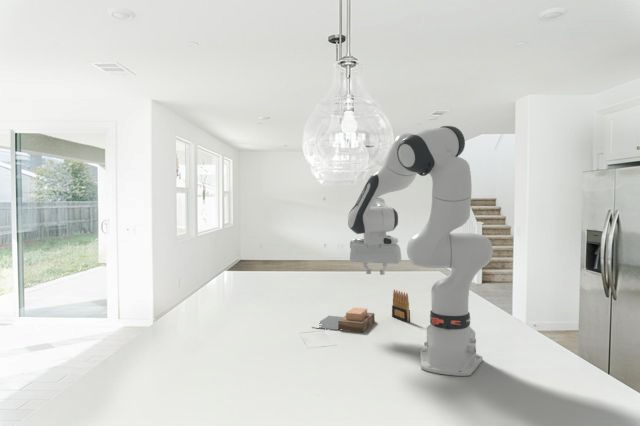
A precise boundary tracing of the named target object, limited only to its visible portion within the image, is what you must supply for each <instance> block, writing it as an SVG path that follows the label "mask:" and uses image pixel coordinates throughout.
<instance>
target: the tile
mask: <svg viewBox="0 0 640 426" xmlns="http://www.w3.org/2000/svg"><path fill="white" fill-rule="evenodd" d="M367 313H368V308H363V307H352V308H351V309H349V310H347V311H346V312H345V316H346V319H351V320H362V319H363V318H364V317H365V316H367Z"/></svg>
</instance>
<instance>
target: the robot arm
mask: <svg viewBox="0 0 640 426" xmlns="http://www.w3.org/2000/svg"><path fill="white" fill-rule="evenodd" d="M465 146H466V139H465V136H464V134H463V132H462V131H461V130H460V129H459V128H458V127H456V126H453V125H451V126H450V125H443V126H440V127H436V128H429V129H425V130H422V131H418V132H417V133H414V134H413V133H409V132H408V133H407V132H405V133H401V134H399V135H398V136H397V137H396V138H395V139H394V141H393V143H392V144H391V146H390V148H389V150H388V152H387V156H386V158H385V161H384V164H383V165H382V166H381V168H379V170H377V171H376V172H375V173H373V174H372V175H371V176H370V177H369V178H368V180H367V182H366V184H365V185H364V187H363V189H362V191H361V193H360V195H359V197H358V199H357V200H356V202H355V204H354V206H352V208H351V209H350V211H349V213H348V216H347V226H348V228H349V229H350V230H351V231H352V232H354V233H355V234H357V235H359V234H360V235H361V234H363V238H354V239H352V240H350V242H349V248H350V252H349V260H350V261H351V263H362V265H363V267H364V268H365V272H366V274H367V275H371V274H372V269H371V268H369V266H368V265H369V264H372V263H373V264H382V269H380V270H379V274H380V275H379V276H381V275H383V276H384V275H385V274H386V273H385V270H386V269H387V267H388V264H393V265H394V264H395V265H396V264H400V263H401V262H402V253H401V248H400V245H399V244H398V243H399V239H398V238H397V237H395V236H392V235H388V234H387V233H388V232H393V231H394V230H395V229H396V228H397V226H398V224H399V215H398V214H399V213H398V212H397V210H396V208H393V207H392V206H389V205H387V204H386V203H385V199H383V198H382V197H381V196H383V195H386V194H390V193H394V192H397V191H401V190H404V189H406V188H408V187H409V186H410V185H411V184H412V183H413V182H414V180H415V178H416V177H417V174H418V175H419V176H421V177H425V176H427V175H430V177H431V181H432V189H431V209H430V214H429V215H430V216H429V218H428V220H427V222H426V224H425V225H424V227H423V228H422V229H421V230H420V231H419V232H417V233H415V235H413V236H411V237H410V238H409V240H408V243H407V246H406V254H407V257H408V259H409V261H410V263H412V265H413V266H418V267H421V268H428V269H431V268H432V269H451V270H450V273H449V275H447V276H446V277H443V278H441V279H439V280H438V281H436V282H435V283H434V284H433V285H432V287H431V294H430V295H431V310H430V313H429V314H430V315H429V323H430V324H428V325H427V326H426V341H425V342H424V347H425V348H421V349H420V350H419V357H420V369H422V370H424V371H427V372H430V373H434V374H440V375H441V374H442V375H446V376H454V377H455V376H458V377H459V376H460V377H461V376H463V377H465V376H466V377H467V376H471V375H472V374H473V373H474V372H475V371H476V369H477V368H478V367H479V366H480V365H481V363H482V361H483V358H484V357H483V356H482V355H481V354H478V353H477V344H476V343H477V342H476V341H477V339H476V338H477V337H476V332H475V330H474V329H473V328H472V327H471V314H470V311H469V297H470V289H471V288H470V287H471V286H472V281H473V280H474V278H475V277H476V275H477V274H478V273H479V272H480V271H481V270H482V269H483V268H485V267H486V266H487V265H488V264H489V263H490V262H491V260H492V258H493V254H494V247H493V244H492V242H491V240H490V239H489V237H487V236H486V235H483V234H479V233H473V232H453V231H455V230H457V229H458V228H460V227H462V226H464V225H465V224H466V223H467V221H468V220H469V219H470V216H471V205H472V204H471V203H472V188H473V187H472V173H471V172H472V171H471V168H470V164H469V162H468V161H467V160H466V159H464V158H462V157H460V155H461V154H462V153H463V152H464V150H465Z"/></svg>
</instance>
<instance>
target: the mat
mask: <svg viewBox="0 0 640 426" xmlns="http://www.w3.org/2000/svg"><path fill="white" fill-rule="evenodd" d="M343 317H344V316H337V315H336V316H335V315H328V316H326V317H324V318H323V319H322V320H320V321H319V322H320V323H319V324H322V325H319V326H321V327H319V328H326V329H325V330H328V329H335V330H334V331H337V330H338V321H339V320H340V319H342V318H343ZM319 328H318V329H319ZM338 331H339V330H338Z"/></svg>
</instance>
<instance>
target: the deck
mask: <svg viewBox="0 0 640 426" xmlns="http://www.w3.org/2000/svg"><path fill="white" fill-rule="evenodd" d="M342 317H343V318H342V319H340V320H339V321H338V329H342V330H341V331H345V330H350V331H349V332H354V331H358V332H357V333H364V332H365V331H366V330H367V329H368V328H369V327H370V326H372V325H373V324H374V323H375V321H376V320H375V313H374V312H367V316H365V317H364V318H363V319H362V320H351V319H346V315H344V316H342Z"/></svg>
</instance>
